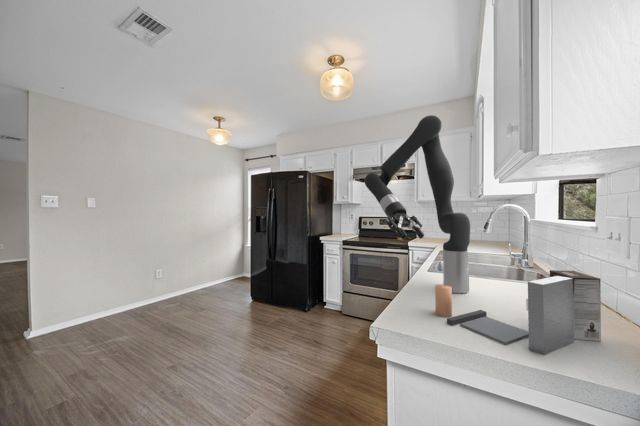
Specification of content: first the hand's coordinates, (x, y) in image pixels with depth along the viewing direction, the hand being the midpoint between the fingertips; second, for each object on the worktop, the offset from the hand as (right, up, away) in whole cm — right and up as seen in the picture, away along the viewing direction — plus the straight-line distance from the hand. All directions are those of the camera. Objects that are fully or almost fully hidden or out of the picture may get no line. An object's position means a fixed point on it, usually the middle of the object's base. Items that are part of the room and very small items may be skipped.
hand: (413, 237), depth 93 cm
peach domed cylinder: (+5, -24, -12) cm, 27 cm away
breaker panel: (+22, -23, -31) cm, 45 cm away
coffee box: (+34, -24, -25) cm, 49 cm away
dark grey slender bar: (+10, -24, -16) cm, 31 cm away
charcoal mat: (+14, -24, -23) cm, 36 cm away
